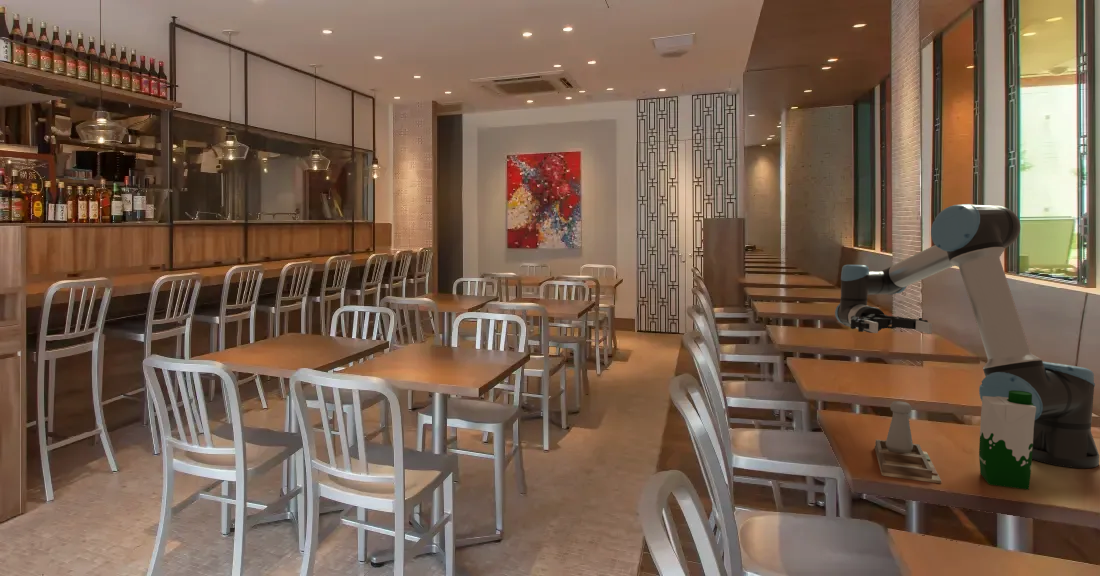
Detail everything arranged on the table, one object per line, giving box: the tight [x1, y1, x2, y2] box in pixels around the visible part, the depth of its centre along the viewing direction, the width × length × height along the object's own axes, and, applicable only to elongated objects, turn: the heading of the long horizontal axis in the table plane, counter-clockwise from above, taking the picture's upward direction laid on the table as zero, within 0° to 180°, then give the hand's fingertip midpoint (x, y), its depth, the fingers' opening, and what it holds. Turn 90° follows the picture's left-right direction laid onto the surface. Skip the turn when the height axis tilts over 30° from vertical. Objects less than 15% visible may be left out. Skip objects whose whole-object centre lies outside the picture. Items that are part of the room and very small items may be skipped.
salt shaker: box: [885, 400, 914, 454], centre depth 149 cm, size 6×6×13 cm
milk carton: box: [978, 390, 1036, 490], centre depth 133 cm, size 9×9×20 cm
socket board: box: [874, 439, 942, 484], centre depth 144 cm, size 11×20×2 cm, turn 156°
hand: (903, 328), depth 159 cm, fingers open, 13 cm apart
